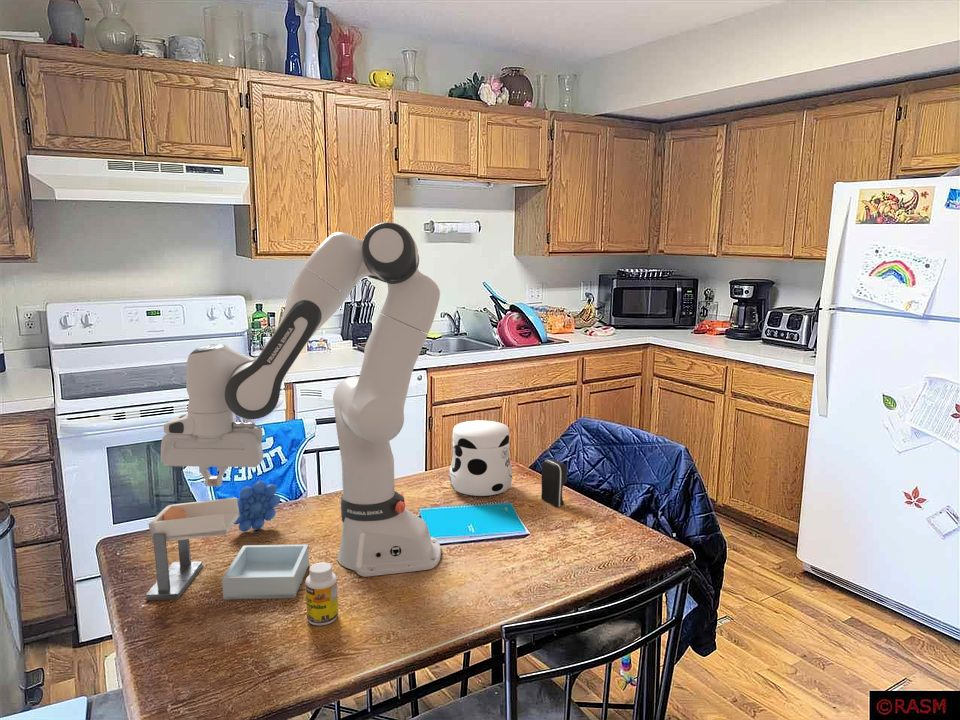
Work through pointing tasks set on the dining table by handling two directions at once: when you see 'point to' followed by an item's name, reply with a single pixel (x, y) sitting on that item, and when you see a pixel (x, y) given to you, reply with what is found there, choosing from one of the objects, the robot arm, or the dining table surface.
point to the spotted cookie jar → (480, 459)
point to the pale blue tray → (266, 572)
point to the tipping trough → (197, 520)
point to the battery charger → (553, 481)
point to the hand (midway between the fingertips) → (214, 485)
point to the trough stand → (172, 570)
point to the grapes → (256, 506)
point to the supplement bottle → (321, 594)
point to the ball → (174, 513)
